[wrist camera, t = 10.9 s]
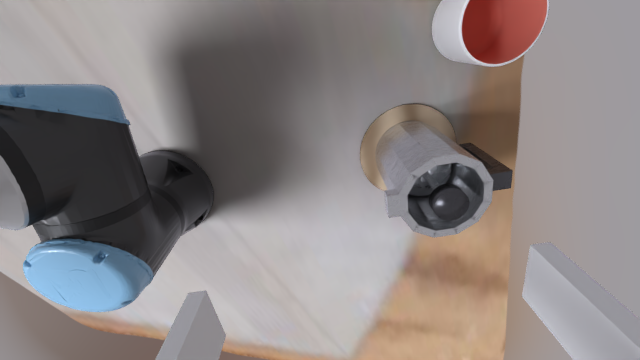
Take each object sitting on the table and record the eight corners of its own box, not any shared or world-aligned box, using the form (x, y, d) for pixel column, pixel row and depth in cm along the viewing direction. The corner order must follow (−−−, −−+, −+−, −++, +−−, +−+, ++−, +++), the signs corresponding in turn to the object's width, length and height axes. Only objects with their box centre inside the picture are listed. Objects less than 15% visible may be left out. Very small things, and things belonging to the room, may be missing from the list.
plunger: (396, 197, 46) (417, 239, 36) (392, 148, 42) (415, 180, 33) (448, 188, 45) (485, 229, 36) (449, 138, 42) (489, 168, 32)
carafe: (370, 188, 53) (391, 243, 39) (363, 128, 48) (384, 165, 34) (460, 173, 52) (516, 225, 38) (462, 111, 47) (527, 142, 33)
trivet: (365, 199, 55) (365, 201, 54) (354, 113, 48) (355, 114, 47) (453, 185, 54) (455, 187, 53) (455, 95, 47) (457, 96, 46)
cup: (503, 46, 44) (551, 48, 35) (436, 71, 46) (466, 79, 36) (495, -31, 40) (548, -51, 31) (422, -1, 42) (452, -12, 32)
